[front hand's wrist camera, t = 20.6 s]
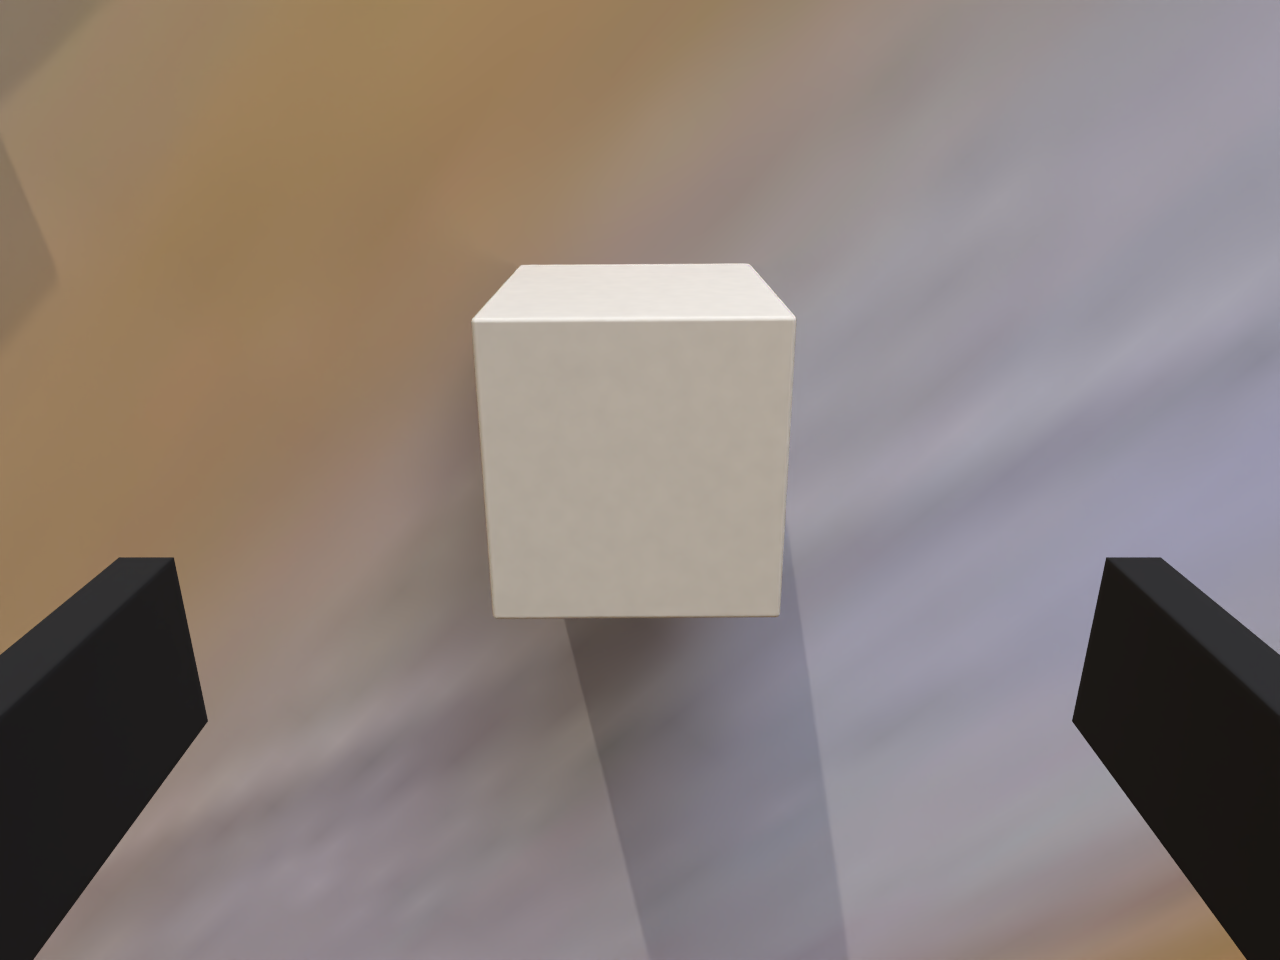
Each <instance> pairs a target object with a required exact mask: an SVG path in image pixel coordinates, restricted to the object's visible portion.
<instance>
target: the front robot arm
mask: <svg viewBox="0 0 1280 960" xmlns="http://www.w3.org/2000/svg"><path fill="white" fill-rule="evenodd" d="M207 722H208V719H207V715H206V710H205V705H204V700H203V696H202V691H201V686H200V681H199V676H198V672H197V667H196V662H195V657H194V652H193V648H192V643H191V638H190V633H189V629H188V624H187V619H186V614H185V609H184V605H183V600H182V595H181V590H180V585H179V581H178V576H177V571H176V566H175V562H174V558H118V559H117V560H116V561H114V562H113V563H112V564H111V565H110V566H108V567H107V568H106V569H105V570H103V571H102V572H101V573H100V574H99V575H97V576H96V577H95V578H94V579H92V580H91V581H90V582H89V583H88V584H86V585H85V586H84V587H83V588H82V589H80V590H79V591H78V592H77V593H75V594H74V595H73V596H72V597H71V598H69V599H68V600H67V601H66V602H64V603H63V604H62V605H61V606H60V607H58V608H57V609H56V610H55V611H53V612H52V613H51V614H50V615H49V616H47V617H46V618H45V619H44V620H42V621H41V622H40V623H39V624H38V625H36V626H35V627H34V628H33V629H31V630H30V631H29V632H28V633H27V634H25V635H24V636H23V637H22V638H20V639H19V640H18V641H17V642H16V643H14V644H13V645H12V646H11V647H9V648H8V649H7V650H6V651H5V652H3V653H2V654H1V655H0V960H33V959H34V958H35V956H36V955H37V954H38V952H39V951H40V950H41V948H42V947H43V946H44V944H45V943H46V941H47V940H48V939H49V937H50V936H51V935H52V933H53V932H54V931H55V929H56V928H57V926H58V925H59V924H60V922H61V921H62V920H63V918H64V917H65V916H66V914H67V913H68V911H69V910H70V909H71V907H72V906H73V905H74V903H75V902H76V900H77V899H78V898H79V896H80V895H81V894H82V892H83V891H84V890H85V888H86V887H87V885H88V884H89V883H90V881H91V880H92V879H93V877H94V876H95V875H96V873H97V872H98V870H99V869H100V868H101V866H102V865H103V864H104V862H105V861H106V860H107V858H108V857H109V855H110V854H111V853H112V851H113V850H114V849H115V847H116V846H117V844H118V843H119V842H120V840H121V839H122V838H123V836H124V835H125V834H126V832H127V831H128V829H129V828H130V827H131V825H132V824H133V823H134V821H135V820H136V819H137V817H138V816H139V814H140V813H141V812H142V810H143V809H144V808H145V806H146V805H147V804H148V802H149V801H150V799H151V798H152V797H153V795H154V794H155V793H156V791H157V790H158V789H159V787H160V786H161V784H162V783H163V782H164V780H165V779H166V778H167V776H168V775H169V773H170V772H171V771H172V769H173V768H174V767H175V765H176V764H177V763H178V761H179V760H180V758H181V757H182V756H183V754H184V753H185V752H186V750H187V749H188V748H189V746H190V745H191V743H192V742H193V741H194V739H195V738H196V737H197V735H198V734H199V733H200V731H201V730H202V728H203V727H204V726H205V724H206V723H207ZM1072 722H1073V723H1074V724H1075V726H1076V727H1077V728H1078V730H1079V731H1080V733H1081V734H1082V735H1083V737H1084V738H1085V739H1086V741H1087V742H1088V743H1089V745H1090V746H1091V748H1092V749H1093V750H1094V752H1095V753H1096V754H1097V756H1098V757H1099V758H1100V760H1101V761H1102V763H1103V764H1104V765H1105V767H1106V768H1107V769H1108V771H1109V772H1110V773H1111V775H1112V776H1113V778H1114V779H1115V780H1116V782H1117V783H1118V784H1119V786H1120V787H1121V789H1122V790H1123V791H1124V793H1125V794H1126V795H1127V797H1128V798H1129V799H1130V801H1131V802H1132V804H1133V805H1134V806H1135V808H1136V809H1137V810H1138V812H1139V813H1140V814H1141V816H1142V817H1143V819H1144V820H1145V821H1146V823H1147V824H1148V825H1149V827H1150V828H1151V829H1152V831H1153V832H1154V834H1155V835H1156V836H1157V838H1158V839H1159V840H1160V842H1161V843H1162V844H1163V846H1164V847H1165V849H1166V850H1167V851H1168V853H1169V854H1170V855H1171V857H1172V858H1173V860H1174V861H1175V862H1176V864H1177V865H1178V866H1179V868H1180V869H1181V870H1182V872H1183V873H1184V875H1185V876H1186V877H1187V879H1188V880H1189V881H1190V883H1191V884H1192V885H1193V887H1194V888H1195V890H1196V891H1197V892H1198V894H1199V895H1200V896H1201V898H1202V899H1203V900H1204V902H1205V903H1206V905H1207V906H1208V907H1209V909H1210V910H1211V911H1212V913H1213V914H1214V916H1215V917H1216V918H1217V920H1218V921H1219V922H1220V924H1221V925H1222V926H1223V928H1224V929H1225V931H1226V932H1227V933H1228V935H1229V936H1230V937H1231V939H1232V940H1233V941H1234V943H1235V944H1236V946H1237V947H1238V948H1239V950H1240V951H1241V952H1242V954H1243V955H1244V956H1245V958H1246V959H1247V960H1280V655H1279V654H1278V653H1277V652H1275V651H1274V650H1273V649H1272V648H1271V647H1269V646H1268V645H1267V644H1266V643H1264V642H1263V641H1262V640H1261V639H1260V638H1258V637H1257V636H1256V635H1255V634H1253V633H1252V632H1251V631H1250V630H1249V629H1247V628H1246V627H1245V626H1244V625H1242V624H1241V623H1240V622H1239V621H1238V620H1236V619H1235V618H1234V617H1233V616H1231V615H1230V614H1229V613H1228V612H1227V611H1225V610H1224V609H1223V608H1222V607H1220V606H1219V605H1218V604H1217V603H1216V602H1214V601H1213V600H1212V599H1211V598H1209V597H1208V596H1207V595H1206V594H1205V593H1203V592H1202V591H1201V590H1200V589H1198V588H1197V587H1196V586H1195V585H1194V584H1192V583H1191V582H1190V581H1189V580H1188V579H1186V578H1185V577H1184V576H1183V575H1181V574H1180V573H1179V572H1178V571H1177V570H1175V569H1174V568H1173V567H1172V566H1170V565H1169V564H1168V563H1167V562H1166V561H1164V560H1163V559H1162V558H1106V561H1105V566H1104V571H1103V576H1102V581H1101V585H1100V590H1099V595H1098V600H1097V605H1096V609H1095V614H1094V619H1093V624H1092V629H1091V633H1090V638H1089V643H1088V648H1087V652H1086V657H1085V662H1084V667H1083V672H1082V676H1081V681H1080V686H1079V691H1078V696H1077V700H1076V705H1075V710H1074V715H1073V719H1072Z"/></svg>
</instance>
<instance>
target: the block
mask: <svg viewBox="0 0 1280 960" xmlns="http://www.w3.org/2000/svg"><path fill="white" fill-rule="evenodd" d="M796 321H797V320H796V317H795V316H794V315H793V314H792V312H791V311H790V310H789V309H788V308H787V307H786V305H785V304H784V303H783V302H782V301H781V300H780V299H779V297H778V296H777V295H776V294H775V293H774V292H773V290H772V289H771V288H770V287H769V286H768V285H767V284H766V282H765V281H764V280H763V279H762V278H761V277H760V276H759V274H758V273H757V272H756V271H755V270H754V269H753V267H752V266H751V265H750V264H615V265H521V266H520V267H519V268H518V269H517V270H516V271H515V272H514V273H513V274H512V275H511V277H510V278H509V279H508V280H507V281H506V282H505V283H504V284H503V285H502V286H501V288H500V289H499V290H498V291H497V292H496V293H495V294H494V295H493V296H492V298H491V299H490V300H489V301H488V302H487V303H486V304H485V305H484V306H483V308H482V309H481V310H480V311H479V312H478V313H477V314H476V315H475V316H474V318H473V319H472V322H471V327H472V340H473V354H474V367H475V381H476V394H477V408H478V422H479V435H480V449H481V462H482V476H483V489H484V503H485V517H486V530H487V544H488V557H489V571H490V584H491V598H492V612H493V616H494V618H496V619H546V618H701V617H777V616H779V614H780V603H781V586H782V568H783V551H784V533H785V515H786V498H787V480H788V462H789V445H790V427H791V409H792V392H793V374H794V356H795V339H796Z"/></svg>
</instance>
